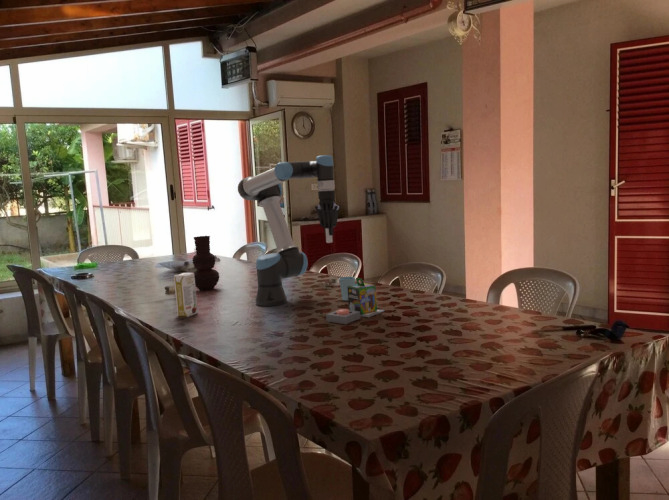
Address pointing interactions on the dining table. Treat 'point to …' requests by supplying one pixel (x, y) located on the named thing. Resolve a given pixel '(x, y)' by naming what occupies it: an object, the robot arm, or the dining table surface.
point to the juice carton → (185, 294)
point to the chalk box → (362, 297)
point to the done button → (343, 312)
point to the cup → (344, 284)
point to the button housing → (343, 317)
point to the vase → (204, 265)
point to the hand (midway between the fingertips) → (329, 242)
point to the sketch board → (372, 313)
